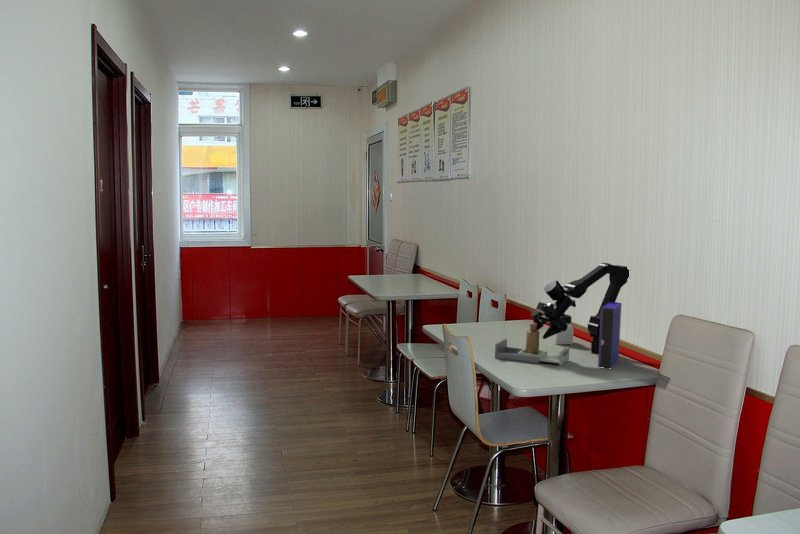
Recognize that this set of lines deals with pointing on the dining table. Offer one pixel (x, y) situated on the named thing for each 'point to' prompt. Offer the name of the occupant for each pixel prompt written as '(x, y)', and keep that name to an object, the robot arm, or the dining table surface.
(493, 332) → the dining table surface
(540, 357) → the tray
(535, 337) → the vinegar bottle
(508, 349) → the dock
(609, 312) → the cereal box
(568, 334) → the container
